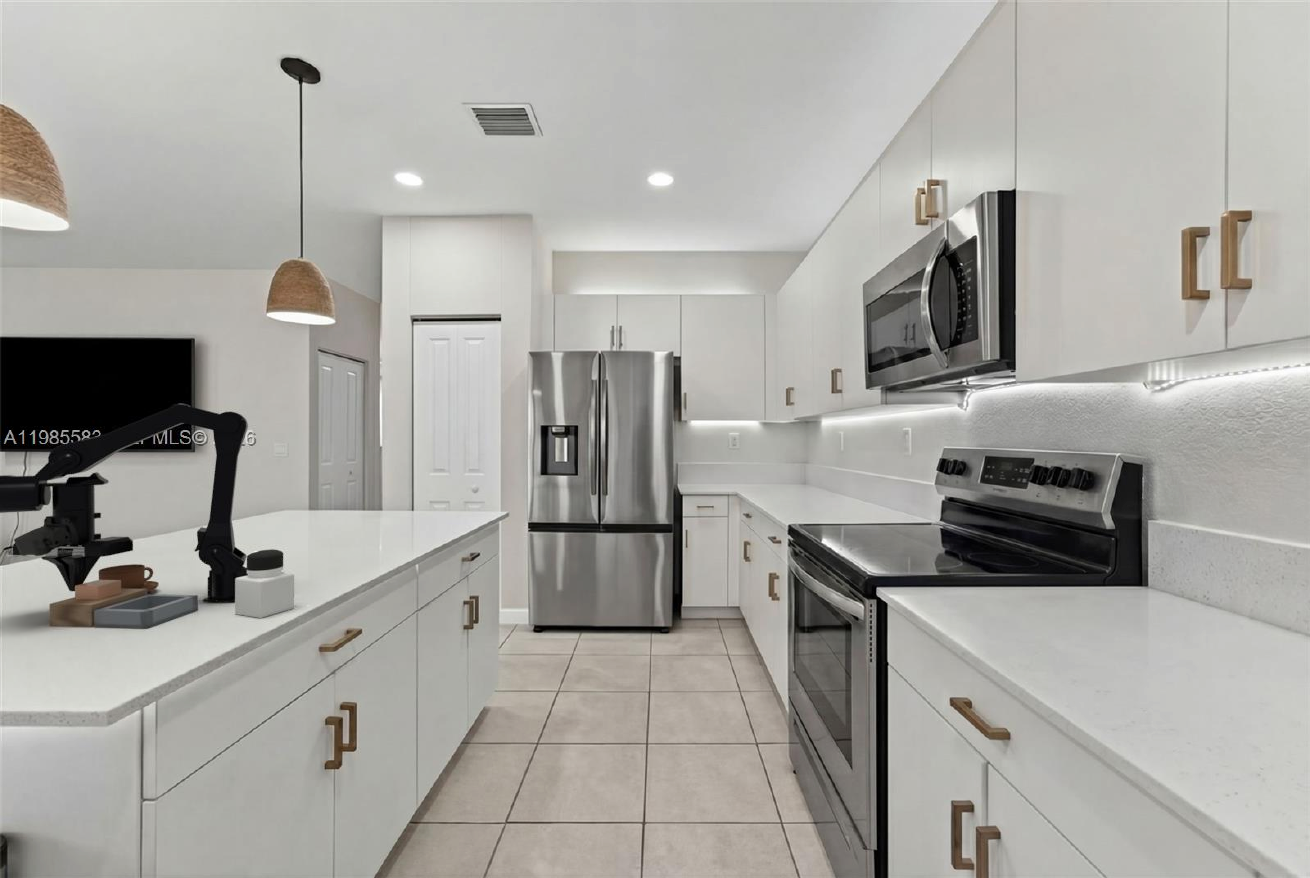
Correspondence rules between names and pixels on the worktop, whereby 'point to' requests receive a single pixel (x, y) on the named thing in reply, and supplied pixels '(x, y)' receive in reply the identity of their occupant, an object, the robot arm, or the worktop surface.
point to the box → (145, 611)
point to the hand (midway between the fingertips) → (74, 590)
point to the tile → (98, 589)
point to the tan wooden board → (87, 608)
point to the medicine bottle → (264, 586)
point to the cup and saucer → (129, 576)
